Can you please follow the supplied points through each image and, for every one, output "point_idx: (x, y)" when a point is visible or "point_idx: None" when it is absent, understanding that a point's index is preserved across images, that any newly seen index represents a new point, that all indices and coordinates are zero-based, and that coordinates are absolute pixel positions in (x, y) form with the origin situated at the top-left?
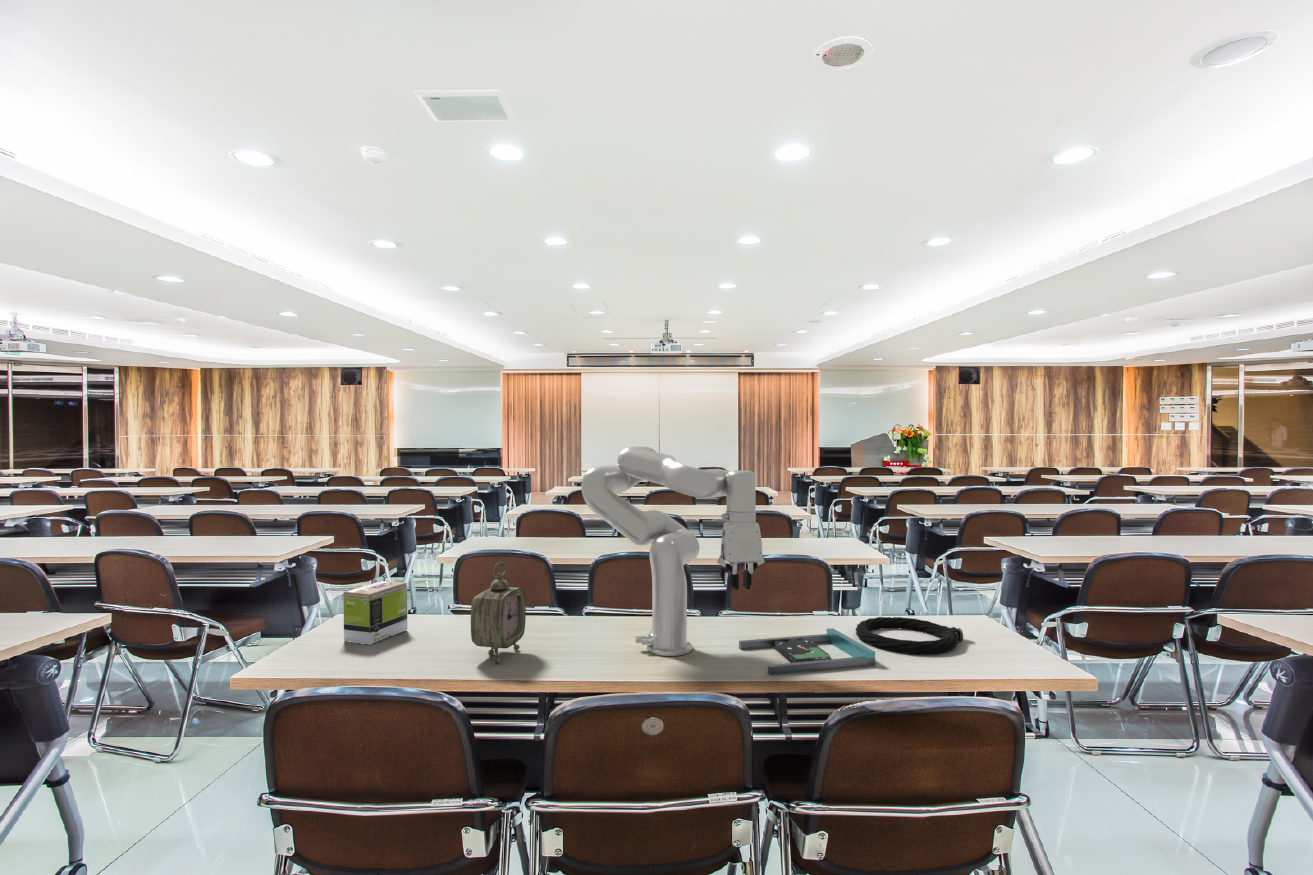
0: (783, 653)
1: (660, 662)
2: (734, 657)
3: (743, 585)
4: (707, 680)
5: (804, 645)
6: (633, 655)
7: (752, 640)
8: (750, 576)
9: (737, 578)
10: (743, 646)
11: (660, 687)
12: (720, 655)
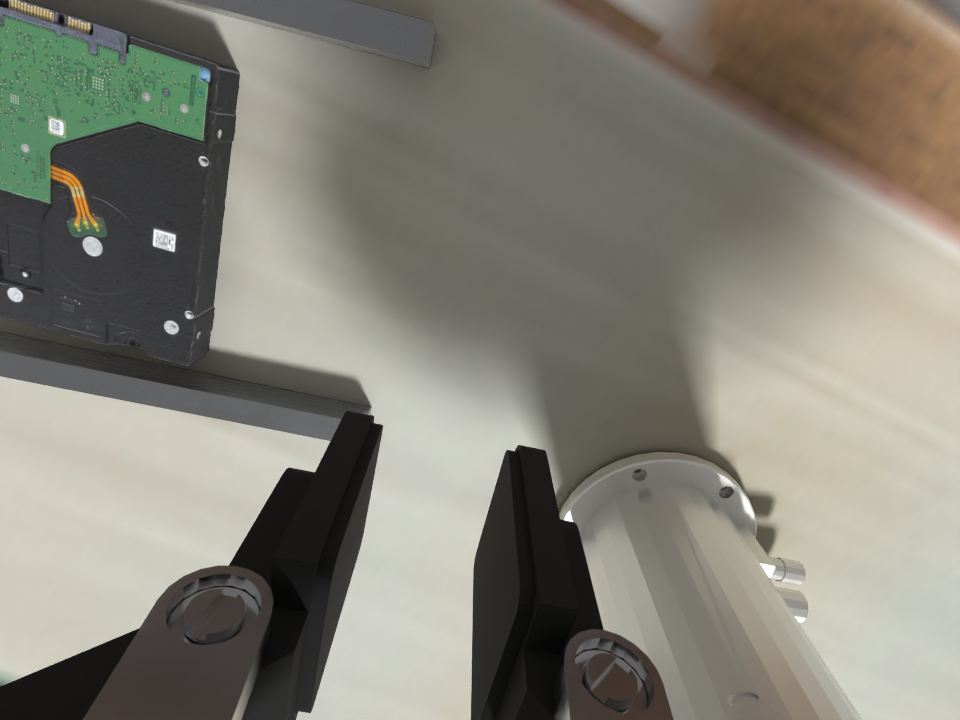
0: (213, 242)
1: (783, 422)
2: (455, 337)
3: (359, 544)
4: (761, 129)
5: (57, 240)
6: (819, 530)
7: (294, 422)
8: (257, 553)
9: (546, 551)
10: (354, 410)
11: None
12: (499, 385)
